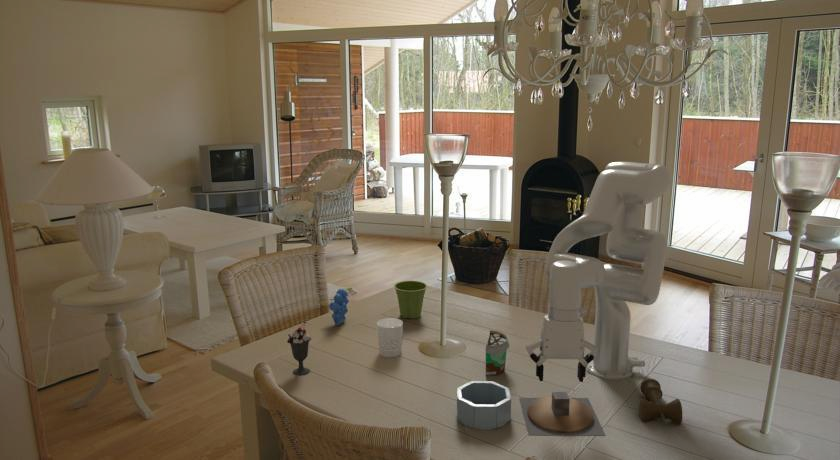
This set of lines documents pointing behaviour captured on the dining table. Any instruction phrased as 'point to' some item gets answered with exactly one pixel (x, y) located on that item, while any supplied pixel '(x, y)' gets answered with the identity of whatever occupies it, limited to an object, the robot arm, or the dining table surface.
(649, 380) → the kendama
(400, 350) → the white cup
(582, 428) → the lid
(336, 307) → the grapes
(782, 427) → the dining table surface
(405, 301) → the plant pot
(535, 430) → the mat
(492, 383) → the bowl
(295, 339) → the sundae
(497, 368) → the food container
